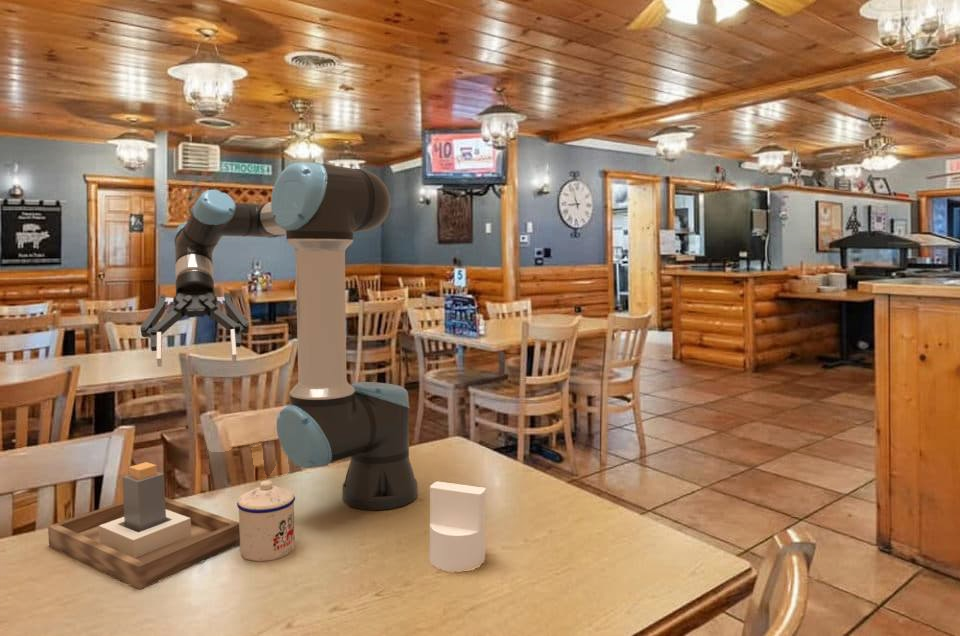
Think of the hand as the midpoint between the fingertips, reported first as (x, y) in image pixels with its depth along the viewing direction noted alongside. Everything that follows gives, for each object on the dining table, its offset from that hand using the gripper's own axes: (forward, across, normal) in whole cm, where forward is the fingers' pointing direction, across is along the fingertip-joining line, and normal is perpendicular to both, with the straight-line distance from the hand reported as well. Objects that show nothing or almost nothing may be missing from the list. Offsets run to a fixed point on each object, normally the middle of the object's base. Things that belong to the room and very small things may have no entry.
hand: (197, 360), depth 128 cm
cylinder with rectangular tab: (+51, -38, +12) cm, 65 cm away
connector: (+33, +9, -5) cm, 34 cm away
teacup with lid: (+40, -10, 0) cm, 41 cm away
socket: (+33, +9, -5) cm, 34 cm away
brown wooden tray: (+34, +9, -6) cm, 35 cm away
